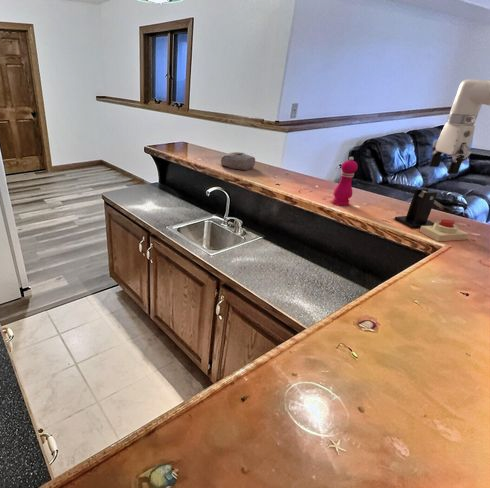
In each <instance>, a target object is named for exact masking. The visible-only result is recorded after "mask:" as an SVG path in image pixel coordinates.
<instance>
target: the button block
mask: <svg viewBox="0 0 490 488" xmlns="http://www.w3.org/2000/svg"><path fill="white" fill-rule="evenodd" d="M440 222H441V220H440V221H439V220H437V221H434V222H433V223H434V225H431V226H421V228H419V231H418V232H419V233H421V234H423V235H424V236H427V237H429V238H431V239H432V240H435V241H436V242H449V241H462V240H463V241H464V240H465V241H466V240H467V239H468V236H469V233H468V232H466V231H463V230H461V229H459V226H458V225H456V224H454V225H453V227H451V228H450V227H444V226H441V225H440Z"/></svg>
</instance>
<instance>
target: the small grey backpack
mask: <svg viewBox="0 0 490 488" xmlns="http://www.w3.org/2000/svg"><path fill="white" fill-rule="evenodd" d="M219 159H220V165H221V166H224V167H226V168H229V169H233V170H242V171H250V170H252V169H253V168H254V166H255V165H256V157H254V156H252V155H250V154H246V153H245V152H238V151H235V152H226V153H225V154H223V155H221V157H220V158H219Z"/></svg>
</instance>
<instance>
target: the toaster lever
mask: <svg viewBox="0 0 490 488" xmlns="http://www.w3.org/2000/svg"><path fill="white" fill-rule="evenodd" d="M425 192H426V191H424V190H422V191H421V192H420V194H419V195H418V196H419V197H420V198H423V195H424V193H425ZM433 205H435V206H437V207H436V208H437V209H439V210H441V211H443V212H445V213H449V214H451V213H452V212H453V209H452V208H449V207H447V206H444V205H443V204H442V203H440V202H438V201H437V200H436V199H435V201H434V204H433Z"/></svg>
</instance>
